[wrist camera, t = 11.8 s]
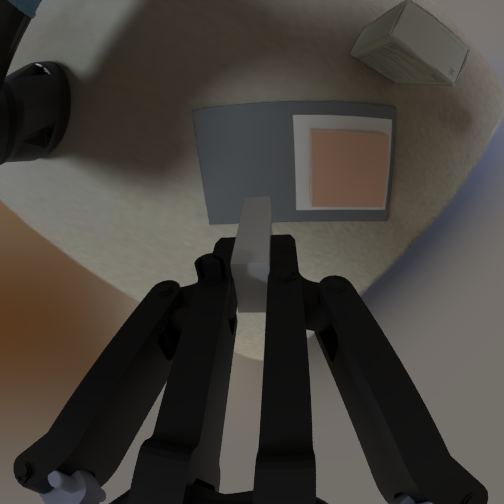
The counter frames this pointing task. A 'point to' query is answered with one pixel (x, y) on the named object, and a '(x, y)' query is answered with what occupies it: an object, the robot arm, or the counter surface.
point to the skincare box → (411, 47)
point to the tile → (347, 167)
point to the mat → (279, 156)
